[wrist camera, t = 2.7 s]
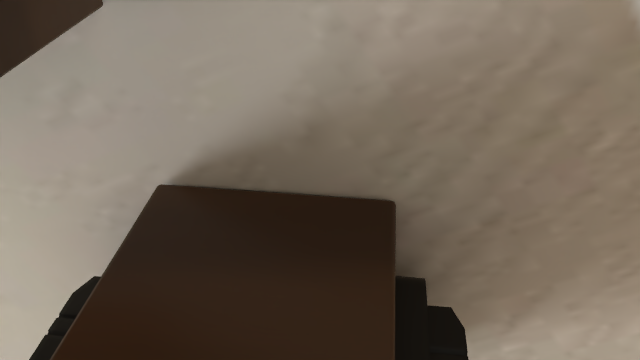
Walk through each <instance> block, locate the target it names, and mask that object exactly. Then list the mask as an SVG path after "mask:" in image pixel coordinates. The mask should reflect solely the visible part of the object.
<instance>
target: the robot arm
mask: <svg viewBox="0 0 640 360" xmlns="http://www.w3.org/2000/svg"><path fill="white" fill-rule="evenodd" d="M100 278H101V277H97V276H94V277H93V278H91V279H90V280H89V281H88V282H86V283H85V284H84V285H83V286H81V287H80V288H79V289H78V290H76V291H75V292H74V293H73V294H72V295H71V297H70V298H69V300H68V301H67V303H66V304H65V306H64V307H63V309H62V310H61V312H60V313H59V318H56V320H55V321H54V323H53V324H52V326H51V327H50V329H49V330H48V335H45V336H44V338H43V339H42V341H41V342H40V344H39V345H38V347H37V348H36V350H35V352H34V353H33V355H32V356H31V358H30V359H29V360H50V359H51V357H52V355H53V354H54V352H55V351H56V349H57V347H58V346H59V344H60V343H61V341H62V339H63V338H64V336H65V335H66V333H67V331H68V330H69V328H70V326H71V325H72V323H73V322H74V320H75V318H76V317H77V315H78V314H79V312H80V310H81V309H82V307H83V305H84V304H85V302H86V301H87V299H88V297H89V296H90V294H91V293H92V291H93V289H94V288H95V286H96V285H97V283H98V281H99V280H100ZM395 360H468V357H467V344H466V336H465V329H464V327H463V325H462V324H461V322H460V321H459V319H458V318H457V316H456V314H455V313H454V311H453V310H452V308H451V307H439V306H428V305H427V295H426V281H425V278H414V277H402V276H395Z"/></svg>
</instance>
